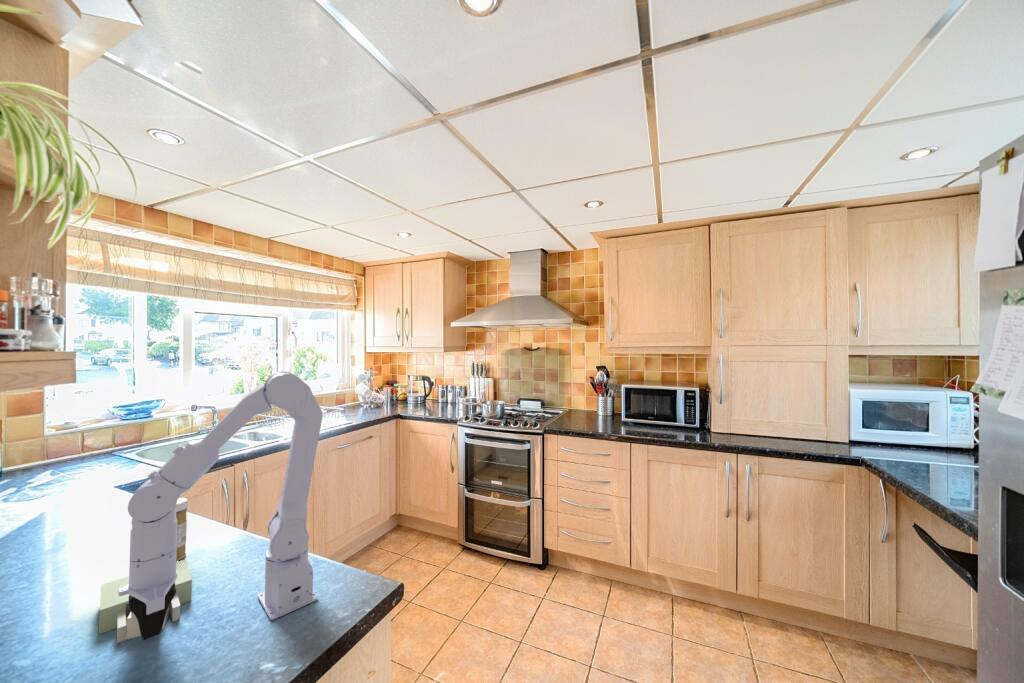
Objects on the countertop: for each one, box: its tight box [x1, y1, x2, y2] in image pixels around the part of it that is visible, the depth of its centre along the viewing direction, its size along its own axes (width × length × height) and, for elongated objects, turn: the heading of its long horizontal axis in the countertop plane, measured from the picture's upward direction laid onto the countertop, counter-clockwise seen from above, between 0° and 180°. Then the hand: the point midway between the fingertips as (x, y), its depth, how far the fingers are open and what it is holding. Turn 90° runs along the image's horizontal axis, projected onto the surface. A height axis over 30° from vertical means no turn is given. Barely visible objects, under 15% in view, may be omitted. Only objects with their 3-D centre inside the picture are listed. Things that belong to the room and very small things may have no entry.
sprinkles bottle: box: [176, 497, 189, 562], centre depth 86 cm, size 5×5×13 cm
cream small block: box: [125, 607, 170, 641], centre depth 66 cm, size 4×5×4 cm
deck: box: [98, 559, 193, 644], centre depth 70 cm, size 15×12×4 cm
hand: (151, 635), depth 62 cm, fingers closed
